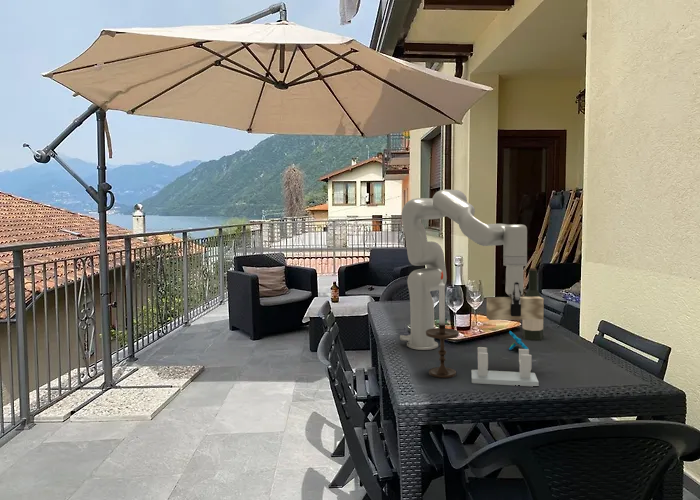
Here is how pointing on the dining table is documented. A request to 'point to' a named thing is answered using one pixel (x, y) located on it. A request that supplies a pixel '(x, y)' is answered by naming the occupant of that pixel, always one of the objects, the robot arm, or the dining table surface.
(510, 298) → the rail
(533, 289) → the wine bottle
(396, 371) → the dining table surface
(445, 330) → the candlestick
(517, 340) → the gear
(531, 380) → the cradle
